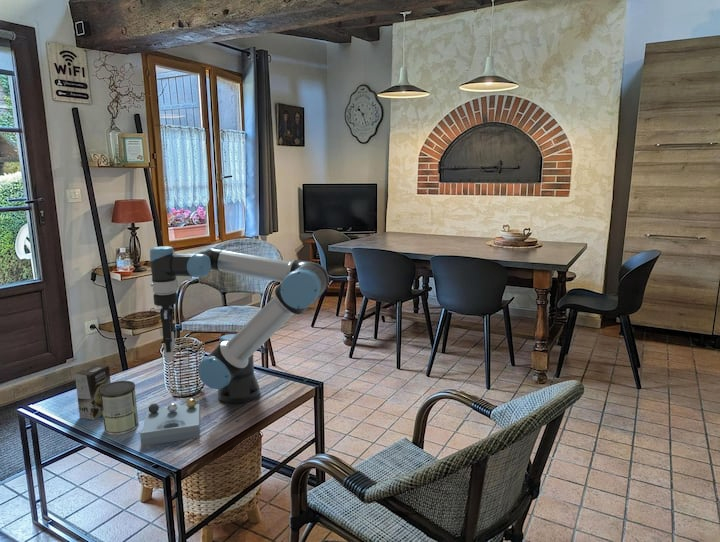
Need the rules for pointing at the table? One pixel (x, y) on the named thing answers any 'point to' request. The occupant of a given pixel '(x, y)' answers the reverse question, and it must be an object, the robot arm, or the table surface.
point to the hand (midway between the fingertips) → (170, 354)
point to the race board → (171, 425)
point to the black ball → (153, 408)
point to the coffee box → (91, 390)
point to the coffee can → (119, 407)
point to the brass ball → (191, 403)
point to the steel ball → (172, 407)
